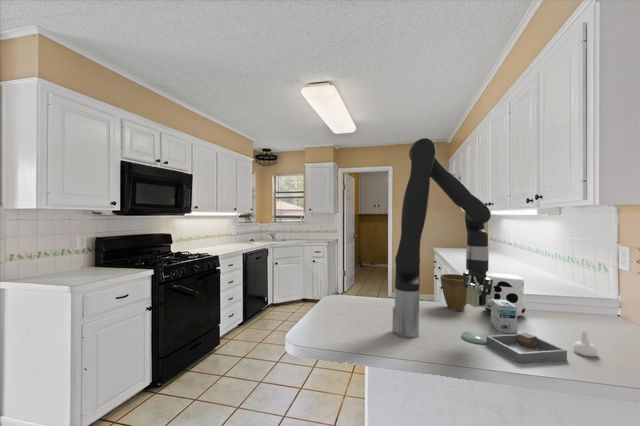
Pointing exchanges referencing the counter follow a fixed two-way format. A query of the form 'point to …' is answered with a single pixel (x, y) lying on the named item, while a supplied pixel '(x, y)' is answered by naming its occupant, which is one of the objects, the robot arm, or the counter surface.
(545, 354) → the bin
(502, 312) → the light bulb box
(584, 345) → the garlic bulb
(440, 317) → the counter surface
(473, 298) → the olive box
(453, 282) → the plant pot
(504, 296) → the milk container
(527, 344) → the walnut block
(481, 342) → the saucer
